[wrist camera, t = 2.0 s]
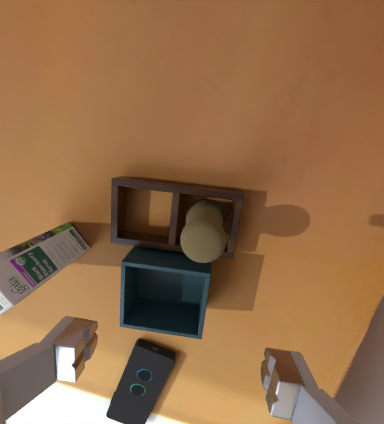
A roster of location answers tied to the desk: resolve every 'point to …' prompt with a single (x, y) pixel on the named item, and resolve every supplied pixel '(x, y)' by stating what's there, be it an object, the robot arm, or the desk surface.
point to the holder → (177, 189)
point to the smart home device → (141, 383)
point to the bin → (164, 292)
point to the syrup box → (37, 262)
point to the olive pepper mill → (203, 232)
